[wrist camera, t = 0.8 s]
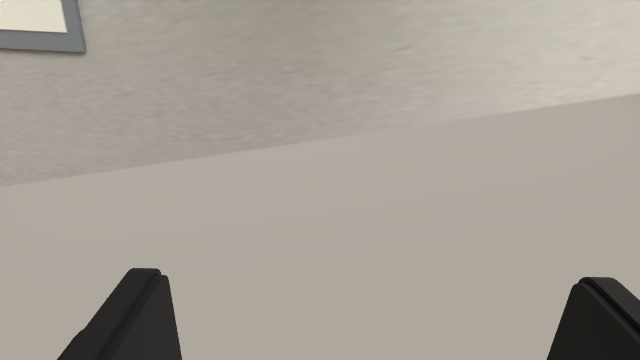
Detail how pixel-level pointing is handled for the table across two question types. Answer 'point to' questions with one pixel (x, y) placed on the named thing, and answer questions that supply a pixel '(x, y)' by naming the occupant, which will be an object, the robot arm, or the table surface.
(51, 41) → the clipboard
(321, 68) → the table surface
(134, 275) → the robot arm
